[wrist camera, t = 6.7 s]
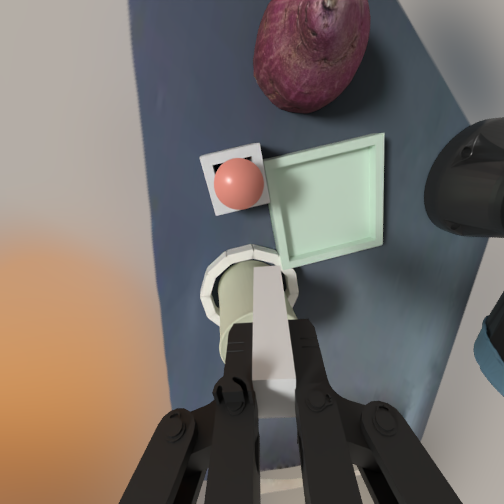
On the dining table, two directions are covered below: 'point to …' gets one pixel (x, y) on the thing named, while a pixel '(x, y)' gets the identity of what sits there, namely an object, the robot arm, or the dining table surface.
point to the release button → (238, 183)
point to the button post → (222, 156)
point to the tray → (327, 200)
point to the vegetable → (309, 50)
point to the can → (239, 299)
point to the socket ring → (238, 256)
